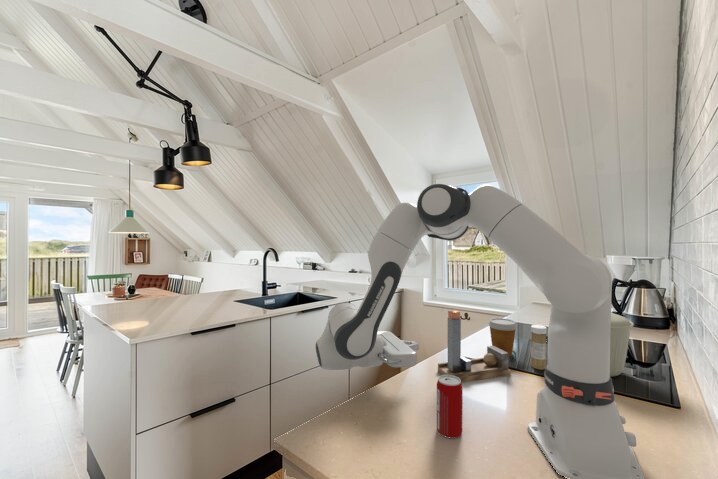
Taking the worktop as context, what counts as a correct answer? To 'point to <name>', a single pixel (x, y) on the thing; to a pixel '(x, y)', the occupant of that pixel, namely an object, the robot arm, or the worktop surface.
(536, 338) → the sprinkles bottle
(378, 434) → the worktop surface
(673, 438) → the worktop surface
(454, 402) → the soda can
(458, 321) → the slider
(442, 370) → the cracker bench
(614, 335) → the canister
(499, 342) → the disposable coffee cup
